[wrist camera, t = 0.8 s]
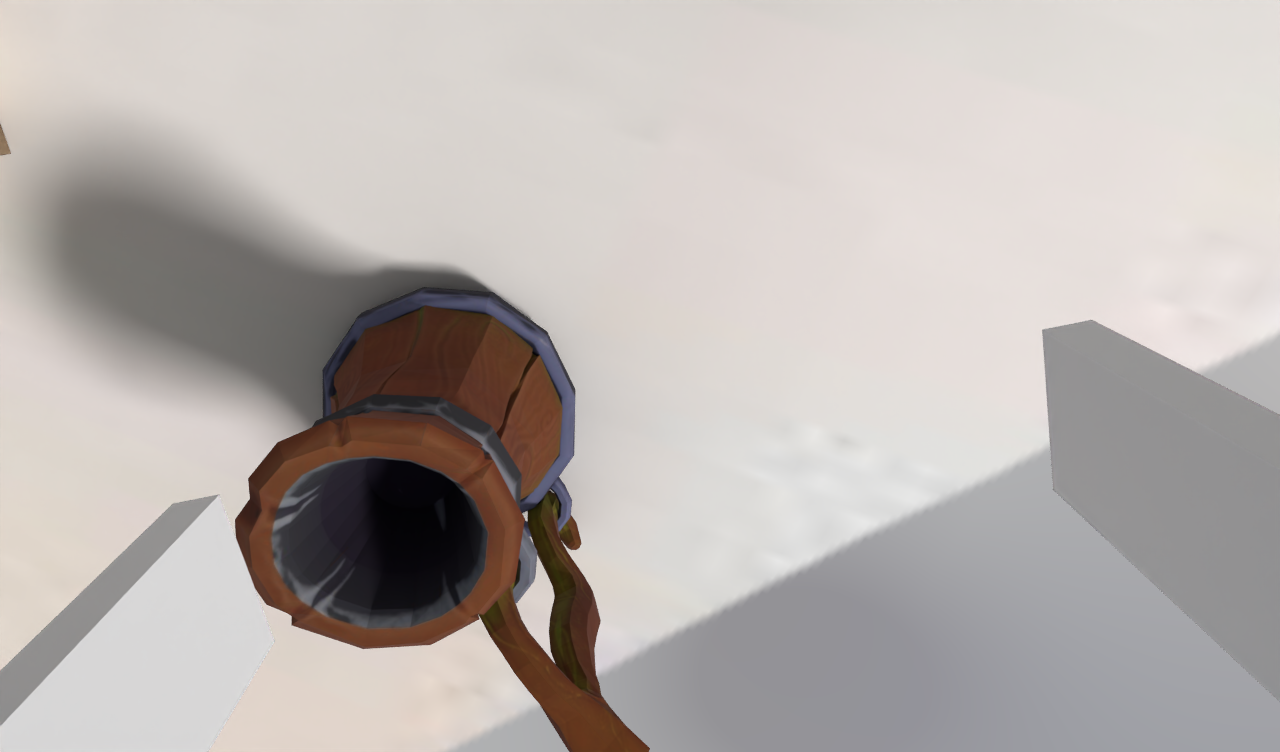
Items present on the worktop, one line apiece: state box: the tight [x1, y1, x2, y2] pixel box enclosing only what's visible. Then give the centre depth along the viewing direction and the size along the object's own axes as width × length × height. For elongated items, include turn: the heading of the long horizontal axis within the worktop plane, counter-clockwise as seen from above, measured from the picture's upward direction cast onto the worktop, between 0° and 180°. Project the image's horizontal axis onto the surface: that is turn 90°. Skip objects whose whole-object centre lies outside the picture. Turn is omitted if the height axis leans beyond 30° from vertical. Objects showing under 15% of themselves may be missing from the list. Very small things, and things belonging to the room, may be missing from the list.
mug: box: [235, 287, 650, 752], centre depth 36 cm, size 18×12×15 cm, turn 39°
